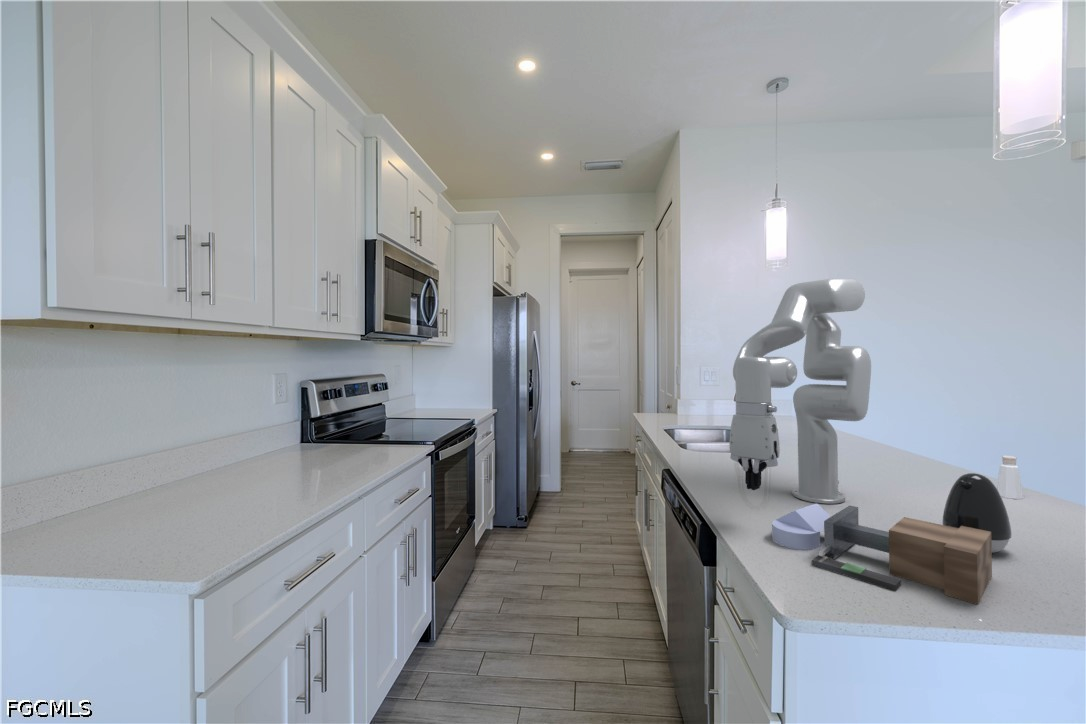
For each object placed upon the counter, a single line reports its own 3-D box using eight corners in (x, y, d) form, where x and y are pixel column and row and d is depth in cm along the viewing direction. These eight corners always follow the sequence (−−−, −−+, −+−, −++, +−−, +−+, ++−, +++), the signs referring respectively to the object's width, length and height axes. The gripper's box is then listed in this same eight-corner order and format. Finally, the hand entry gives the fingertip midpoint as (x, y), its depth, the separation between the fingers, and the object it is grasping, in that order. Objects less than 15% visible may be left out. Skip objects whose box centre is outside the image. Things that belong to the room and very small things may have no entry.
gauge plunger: (850, 537, 98) (849, 505, 98) (910, 553, 90) (910, 517, 90) (816, 562, 87) (815, 526, 87) (882, 582, 79) (881, 542, 79)
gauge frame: (846, 539, 99) (846, 502, 99) (992, 576, 81) (991, 531, 81) (812, 564, 87) (811, 523, 87) (972, 615, 69) (971, 562, 69)
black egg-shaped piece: (931, 543, 96) (930, 471, 95) (959, 534, 100) (958, 465, 100) (994, 563, 86) (993, 482, 86) (1022, 552, 90) (1021, 476, 90)
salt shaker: (991, 492, 128) (990, 453, 128) (1015, 494, 127) (1015, 454, 127) (1003, 498, 123) (1003, 458, 123) (1029, 500, 122) (1028, 458, 121)
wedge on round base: (797, 526, 106) (763, 539, 100) (797, 498, 106) (762, 508, 100) (839, 539, 99) (804, 553, 92) (838, 508, 99) (804, 520, 92)
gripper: (793, 411, 103) (794, 492, 103) (731, 406, 115) (731, 479, 115) (778, 413, 99) (778, 498, 98) (715, 408, 110) (715, 484, 110)
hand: (753, 488), depth 107 cm, fingers closed
